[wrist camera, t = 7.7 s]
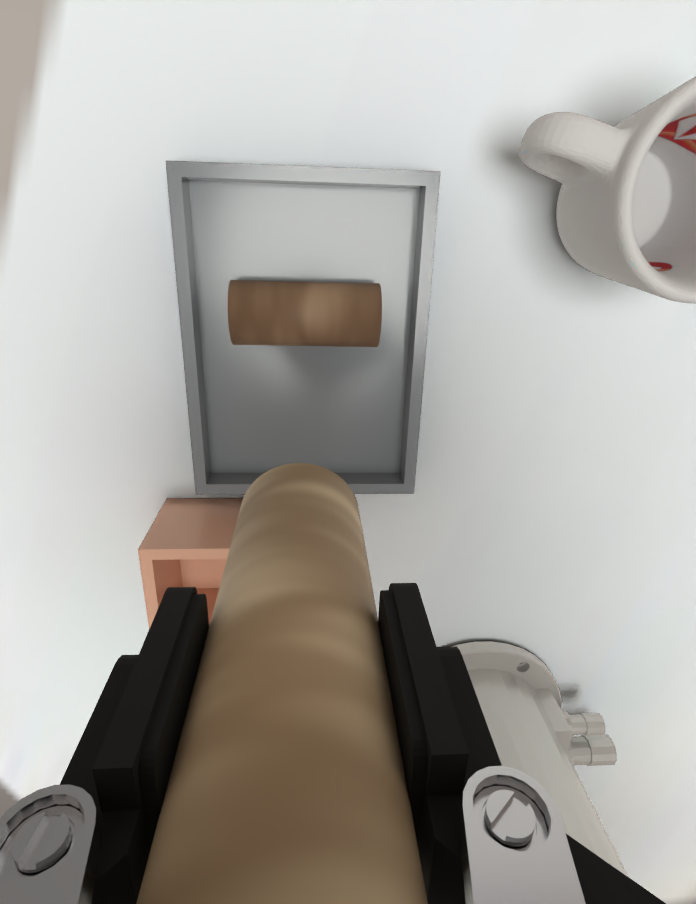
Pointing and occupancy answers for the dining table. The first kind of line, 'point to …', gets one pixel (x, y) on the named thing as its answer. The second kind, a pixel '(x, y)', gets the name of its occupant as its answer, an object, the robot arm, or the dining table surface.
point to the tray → (303, 367)
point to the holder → (187, 548)
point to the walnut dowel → (304, 313)
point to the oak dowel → (289, 722)
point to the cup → (626, 191)
